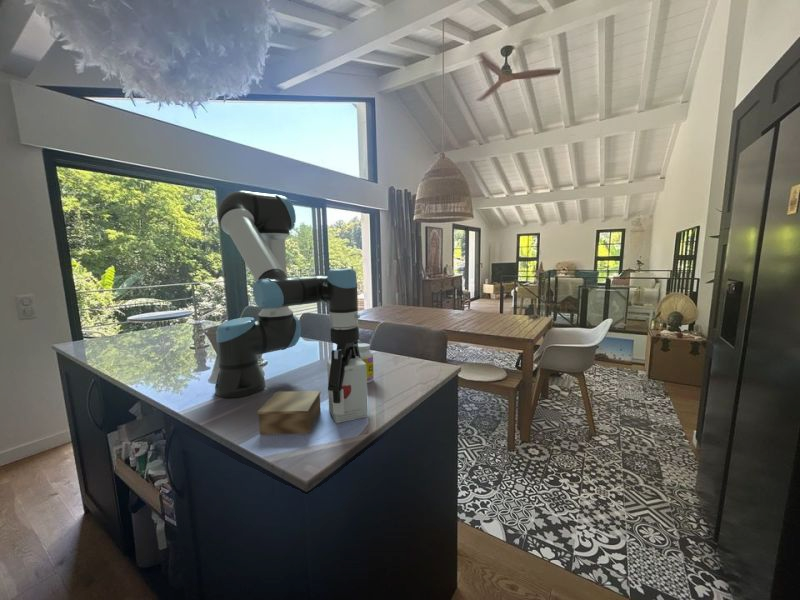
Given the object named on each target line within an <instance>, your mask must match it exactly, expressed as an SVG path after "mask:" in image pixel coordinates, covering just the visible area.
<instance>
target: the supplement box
mask: <svg viewBox="0 0 800 600" xmlns="http://www.w3.org/2000/svg"><path fill="white" fill-rule="evenodd" d="M326 362H327V363H326V364H327V367H326V368H327V369H326V370H327V384H328V383H329V375H330V367H331V358H330V359H327V360H326ZM342 389H343V395H344V414H343V415H342V414H333V398H332V391H328V390H327V391H328V411H329V413H330V414H331V416H332V417H333V420H334V422H335V424H339V423H344V422H349V421H354V420H358V419H359V420H360V419H363V418H367V417H369V410H368V405H369V404H368V383H367V369H366V363H365V362H364V361H362V360H361V359H360V358H359V357H358V356H356V357H355V358H351V360H349V363H348V365H347V366H345V374H344V379H343V384H342Z"/></svg>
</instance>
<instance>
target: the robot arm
mask: <svg viewBox="0 0 800 600" xmlns="http://www.w3.org/2000/svg"><path fill="white" fill-rule="evenodd" d="M216 217H217V221H218V224H219V226H220V228H221V230H223V232H224V233H225V235H226V234H227V235H228V236H230V237H231V240H232V242H233V244H234V245H235V247H236V249H237V250H238V252H239V253H240V256H241V257H242V259H243V260H244V263H245V264H246V266H247V268H248V270H249V272H250V273H251V275H252V277H253V279H254V281H255V282H254V284H253V287H252V295H253V297H254V303H255V304H256V306H257V307H258V308H260V309H261V310H260V311H259V312H258V320H255V317H250V316H247V317H245V316H244V317H239V318H238V317H237V318H234V319H230V320H227V321H224V322H222V323H220V324H219V325H218V326H217V327H216V335H215V337H216V338H215V342H216V347H217V357H218V358H217V360H218V367H219V369H218V370H219V371H218V374H217V378H216V382H215V385H214V386H215V387H214V391H215V396H217V397H219V396H220V397H219V398H223V397H224V398H226V399H231V398H242V397H246V396H249V395H254V394H256V393H258V392H260V391H262V390H264V388H265V387H266V379H265V377H264V375H263V372H262V370H261V368H260V366H259V359H258V356H259V355H263V354H267V353H272V352H277V351H283V350H287V349H290V348H293V347H294V346H296V345H297V343H299V340H300V338H301V332H302V331H301V329H302V328H301V323H300V320H299V318H298V316H296V315H295V314H294V311H293V310H292V309H291V308H289V307H293V306H301V305H311V304H318V303H327V304H328V307H329V325H330V341H331V342H332V344H333V343H334V344H336V349H335V350H334V349H332V350H331V352H330V353H331V358H330V359H331V367H330V375H329V383H328V382H327V391H332V398H333V414H342V415H343V414H344V395H343V389H342V384H343V379H344V374H345V366H347V365H348V363H349V360H351V358H355V357H356V356H358V357H359V358H360V359H361V357H360V353H359V348H358V344H359V343H358V341H359V340H360V328H359V326H358V325H359V319H360V314H359V309H358V308H359V303H358V301H359V300H358V299H359V298H358V278H357V272H356V270H355V269H353V268H333V269H332V268H331V269H329V270H327V275H320V274H316V275H315V274H313V275H309V276H294V277H293V276H292V277H288V273H287V256H286V255H287V254H286V249H287V248H286V239H287V238H288V237H290V231H292V230H293V229H294V228H295V224H296V221H297V219H296V209H295V207H294V205H293V203H292V202H291V200H290V199H289V198H288V197H286V196H284V195H280V194H276V193H266V192H255V191H254V192H253V191H248V190H238V191H232V192H231V193H229V194H227V195H226V196H224V198H223V199H222V200H221V201H220V203H219V205H218V207H217V216H216Z"/></svg>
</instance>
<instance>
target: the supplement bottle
mask: <svg viewBox="0 0 800 600" xmlns="http://www.w3.org/2000/svg"><path fill="white" fill-rule="evenodd" d="M358 348H359V353H360V357H361V360H362V361H364V362H365V363H366V369H367V384H369V383H372V382H373V381H374V354H373V352H372V351H370V349H371V344H370V343H366V342H365V343H364V342H363V343H358Z"/></svg>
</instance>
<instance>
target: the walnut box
mask: <svg viewBox="0 0 800 600" xmlns="http://www.w3.org/2000/svg"><path fill="white" fill-rule="evenodd" d="M321 410H322V409H321V390H305V391H304V390H303V391H300V390H297V391H293V390H291V391H276V392H275V393H274V394H273V395H272V396H271V397H270V398H269V399H268V400H266V402H265V403H264V404H263V405H262V406H260V408H259V409H258V410H257V411H256V412H257V413H256V414H257V415H258V423H259V426H258V427H259V435H309V433H310V432H311V431H312V428H313V426H314V425H315V423H316V421H317V420H318V417H319V416H320V414H321V412H322V411H321Z"/></svg>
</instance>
